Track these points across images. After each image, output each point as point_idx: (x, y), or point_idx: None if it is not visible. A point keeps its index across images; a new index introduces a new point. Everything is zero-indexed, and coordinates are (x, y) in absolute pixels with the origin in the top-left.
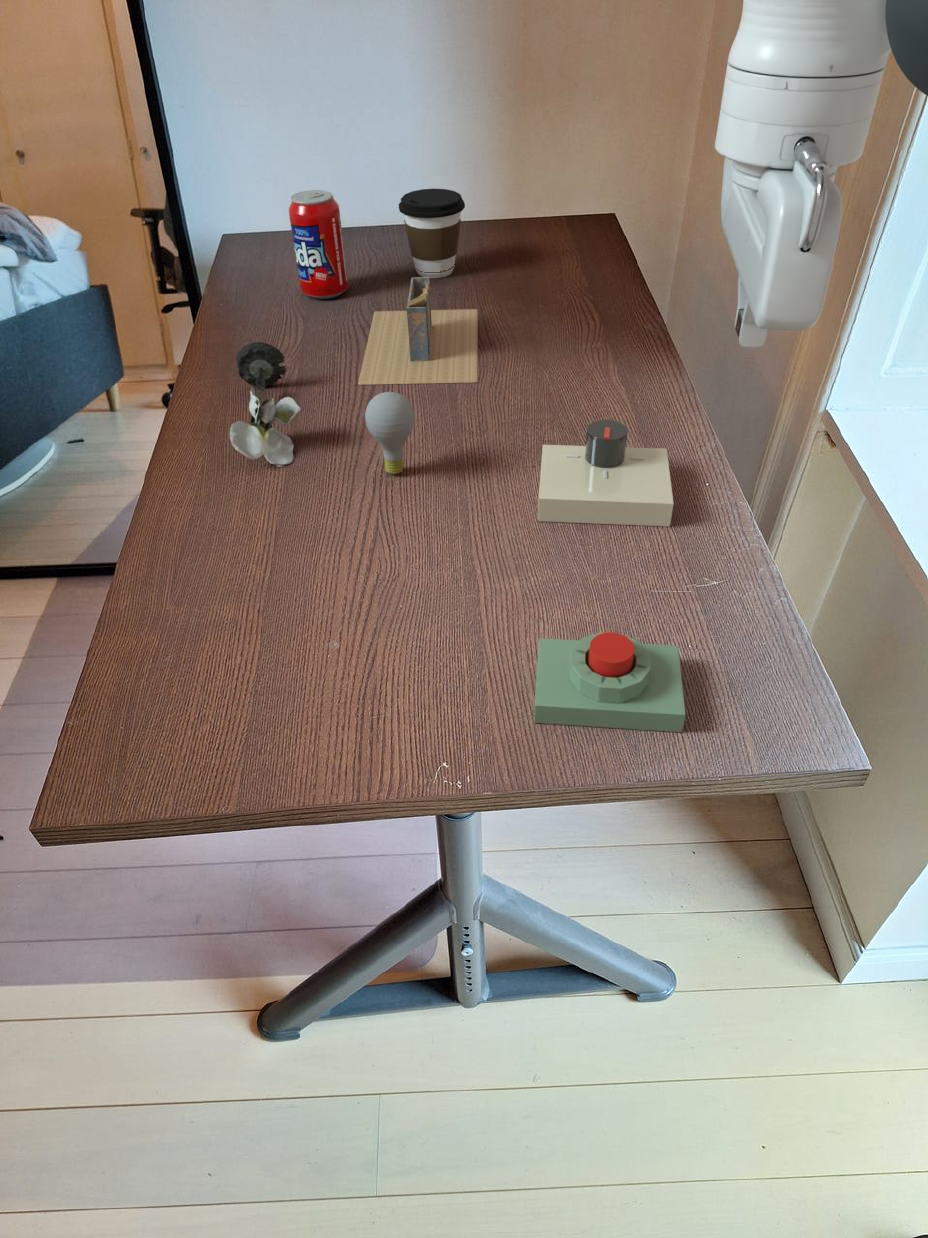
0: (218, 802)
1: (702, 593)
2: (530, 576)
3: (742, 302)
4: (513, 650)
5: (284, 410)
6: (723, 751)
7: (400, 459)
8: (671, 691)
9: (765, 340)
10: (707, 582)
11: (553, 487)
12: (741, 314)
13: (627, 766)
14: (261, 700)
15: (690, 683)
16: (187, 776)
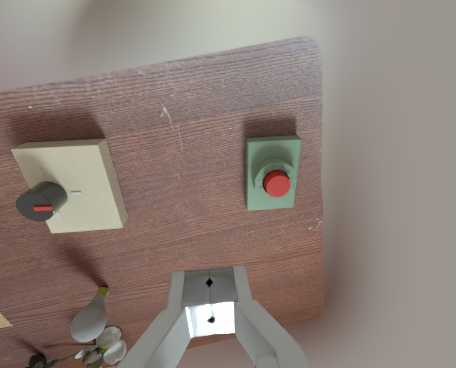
0: (321, 284)
1: (178, 118)
2: (182, 214)
3: (183, 347)
4: (242, 214)
5: (83, 351)
6: (309, 113)
7: (102, 294)
8: (285, 146)
9: (245, 270)
10: (165, 114)
11: (106, 221)
12: (214, 333)
13: (315, 160)
14: (276, 288)
15: (260, 129)
16: (309, 294)
